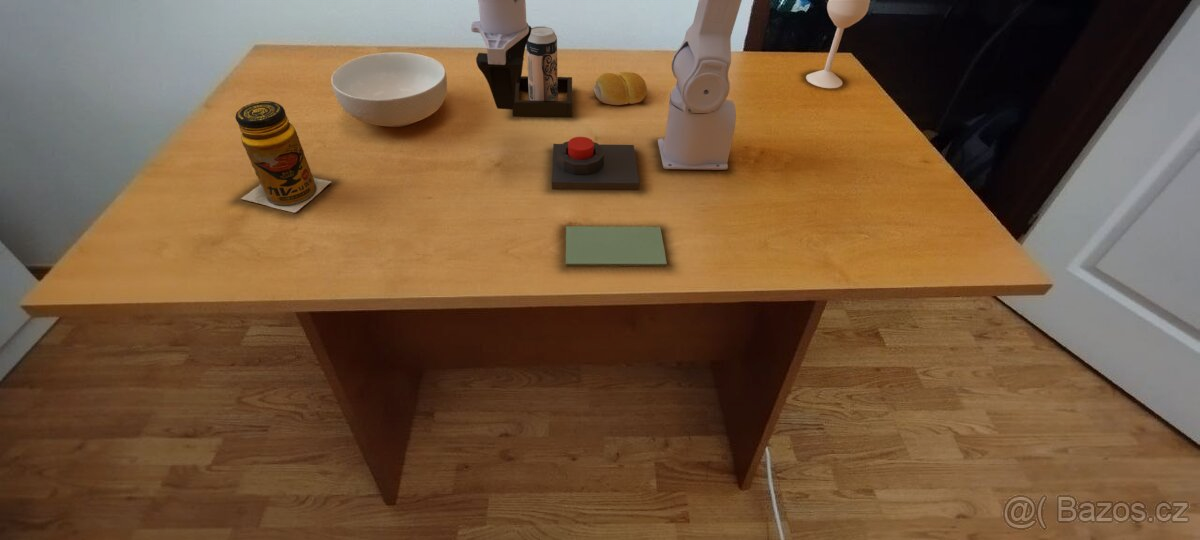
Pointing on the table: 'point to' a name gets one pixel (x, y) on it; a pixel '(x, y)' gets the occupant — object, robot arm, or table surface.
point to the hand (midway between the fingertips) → (509, 94)
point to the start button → (580, 148)
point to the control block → (596, 168)
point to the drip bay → (543, 107)
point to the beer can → (542, 64)
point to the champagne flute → (838, 37)
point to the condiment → (276, 158)
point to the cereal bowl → (390, 88)
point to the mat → (614, 246)
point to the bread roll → (620, 88)
